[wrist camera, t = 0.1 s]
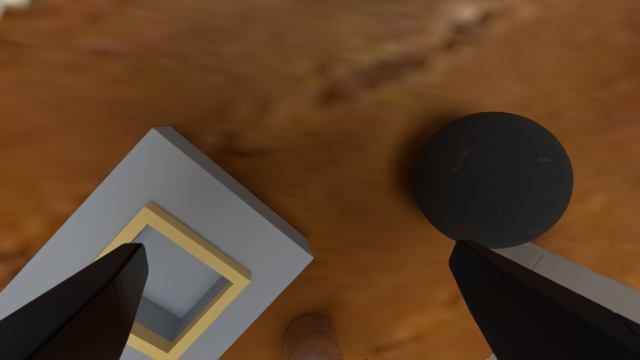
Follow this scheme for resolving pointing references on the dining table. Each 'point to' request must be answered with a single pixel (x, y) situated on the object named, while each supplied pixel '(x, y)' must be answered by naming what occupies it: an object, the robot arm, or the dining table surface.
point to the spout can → (311, 339)
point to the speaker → (493, 179)
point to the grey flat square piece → (175, 250)
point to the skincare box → (577, 278)
